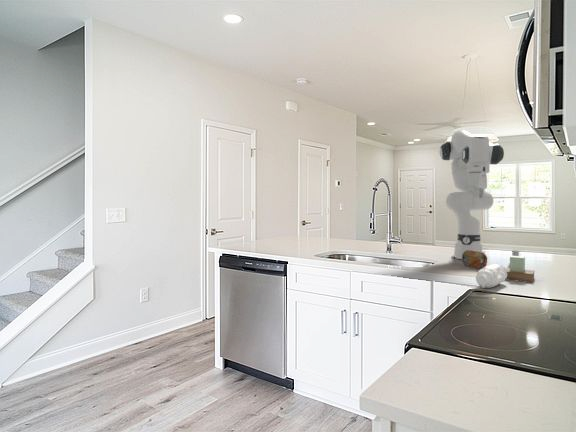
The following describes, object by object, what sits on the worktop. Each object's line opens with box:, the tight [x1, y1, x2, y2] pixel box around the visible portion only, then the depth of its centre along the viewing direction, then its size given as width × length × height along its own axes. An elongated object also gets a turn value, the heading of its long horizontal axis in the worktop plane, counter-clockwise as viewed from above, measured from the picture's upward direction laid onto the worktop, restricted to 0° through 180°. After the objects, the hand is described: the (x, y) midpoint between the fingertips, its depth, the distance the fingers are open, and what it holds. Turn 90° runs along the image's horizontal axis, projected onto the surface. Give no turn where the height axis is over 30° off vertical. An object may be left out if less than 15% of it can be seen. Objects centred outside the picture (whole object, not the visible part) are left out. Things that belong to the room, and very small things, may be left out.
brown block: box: [504, 267, 535, 283], centre depth 164 cm, size 10×12×4 cm
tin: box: [461, 250, 488, 270], centre depth 192 cm, size 15×3×8 cm, turn 14°
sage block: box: [509, 255, 526, 272], centre depth 164 cm, size 5×5×6 cm
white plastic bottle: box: [475, 263, 507, 289], centre depth 149 cm, size 8×19×8 cm, turn 136°
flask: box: [507, 249, 520, 268], centre depth 180 cm, size 7×7×10 cm
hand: (478, 198), depth 182 cm, fingers open, 8 cm apart
